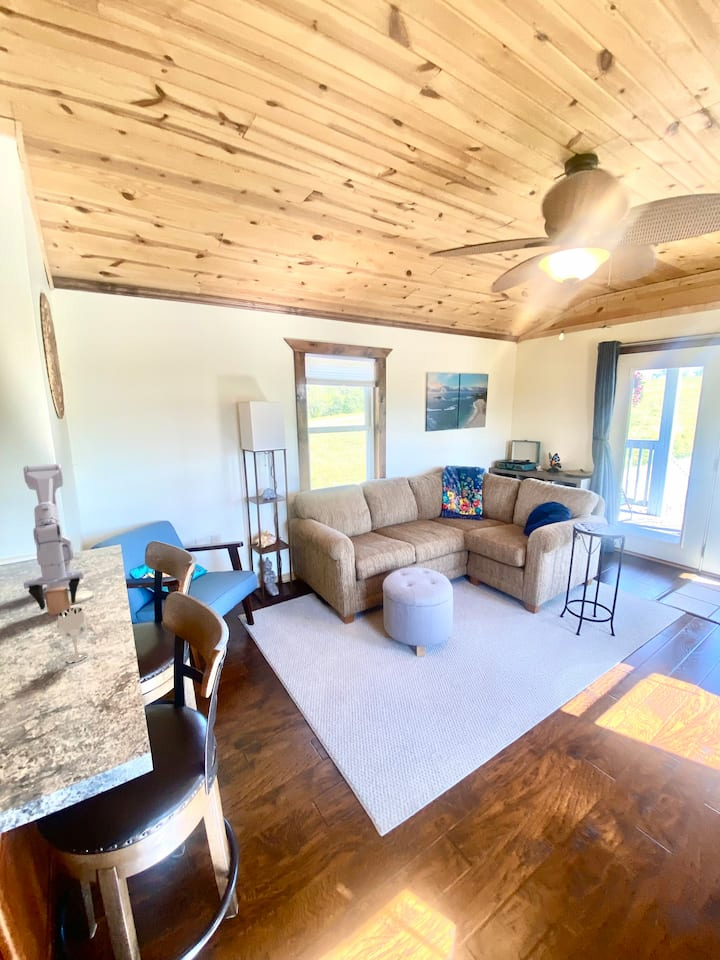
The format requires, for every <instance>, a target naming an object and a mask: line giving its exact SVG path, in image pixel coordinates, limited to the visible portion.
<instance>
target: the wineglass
mask: <svg viewBox="0 0 720 960" xmlns="http://www.w3.org/2000/svg"><path fill="white" fill-rule="evenodd" d="M56 624H57V631H58V632H57V633H58V634H59V635H60V636H61V638H64V639H71V642H72V644H73V647H74V654H72V655H70V656H71V657H70V656H69V657H70V658H69V659H68V660H70V661H77V660H79V659H82V658H84V657H86V656H87V657H88V656H89V653H88V652H86V651H83V652H78V648H77V646H78V645H77V643H78V638H77V637H78V636H80V635H82V634H84V632H86V629H87V627H88V621H87V617H86V613H85V612H84V610H83V608H82V607H79V606H78V607H72V608H71V607H70V609H67V610H64V611H62V612H60V613H59V614H58V616H57V623H56ZM85 652H86V653H85ZM87 654H88V655H87ZM87 657H86V658H87Z"/></svg>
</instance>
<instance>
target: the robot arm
mask: <svg viewBox="0 0 720 960" xmlns="http://www.w3.org/2000/svg"><path fill="white" fill-rule="evenodd" d="M23 477H24V482H25V484H26V485H27V487H28V489H29V490H32V491H36V497H37V502H38V505H36V506H35V507H34V509H33V510H34V513H33V514H34V523H35V524H34V526H35V527H34V528H33V529H32V530H33V531H32V533H33V540H34V544H35V545H36V559H37V564H38V566H39V567H40V571H41V572H40V573H41V577H36V578H32V579H27V580H24V582H23V589H25V590H26V589H28V594H30V595H31V596H32V598H34V600H35V601H36V602H37V605H38V606H39V608H40V610H41V611H43V610H44V609H45V608H46V603H45V602H46V600H45V597H44V595H45V592H46V591H47V590H49V589H52V588H56V587H63V586H64V587H67V588H68V591H69V592H70V593H71V603H72V604H71V605H74V604H73V603H75V597H76V592H78V590H77V589H78V587H79V584H80V582H81V580H84V578H85V574H84V573H85V572H84V571H83V570H82V571H74V572H73V569H72V564H71V561H73V560H74V558H75V557H74V548H73V544H72V539H70V537H67V536H65V535H63V530H62V525H61V522H60V519H59V509H58V505H57V499H56V498H57V497H56V493H57V489H59V488H62V487H63V485H64V478H63V469H62V465H61V463H58V462H57V463H52V464H51V463H50V464H37V465H25V466H23ZM45 585H46V589H45V591H44V588H43V587H44V586H45ZM70 593H69V594H70Z"/></svg>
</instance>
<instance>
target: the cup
mask: <svg viewBox="0 0 720 960" xmlns="http://www.w3.org/2000/svg"><path fill="white" fill-rule="evenodd" d="M44 592H45V591H44ZM69 594H70V593H69V590H68V588H67V587H64V586H63V587H56V588H52V589H49V590H47V591H46V592H45V594H44V596H45V597H44V599H45V602H46V603H45V605H46V610H47V614H48V615H51V616H52V615H54V616H55V615H59V613H60V612H62V611H64V610H67V609H70V608H71V605H70V601H69Z"/></svg>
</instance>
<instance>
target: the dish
mask: <svg viewBox="0 0 720 960" xmlns="http://www.w3.org/2000/svg"><path fill="white" fill-rule="evenodd" d="M68 594H69V601H70V606H71V605H76V604H80V603H84V602H86V601H88V600H90V599H91V598H93V597H94V593H93V591H91V590H80V591H78V590H77V591H76V597H75V603H73V604H72V603H71V593H68Z"/></svg>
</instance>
